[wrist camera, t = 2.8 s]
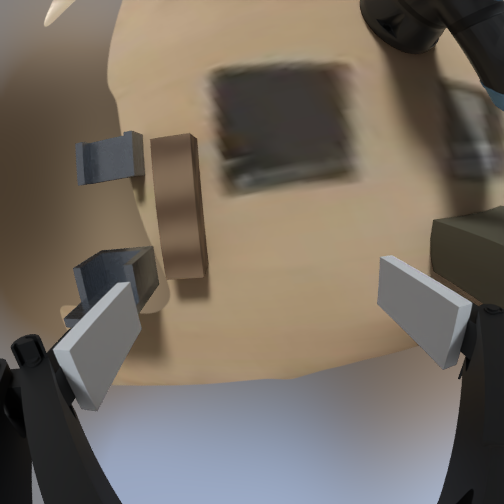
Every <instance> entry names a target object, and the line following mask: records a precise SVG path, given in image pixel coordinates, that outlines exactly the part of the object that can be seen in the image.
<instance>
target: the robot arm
mask: <svg viewBox="0 0 504 504" xmlns="http://www.w3.org/2000/svg"><path fill="white" fill-rule="evenodd" d="M360 8H361V12H362V14H363V17H364V18H365V20H366V22H367V23H368V25H369V26H370V27H371V29H372V30H373V31H374V32H375V33H376V34H377V35H378V36H379V37H380V38H381V39H383V40H384V41H385V42H387V43H388V44H390V45H391V46H393V47H395V48H396V49H399V50H401V51H403V52H407V53H411V54H420V53H424V52H426V51H428V50H430V49H431V48H433V47H434V46H435V45H436V44H437V42H438V40H439V37H440V36H441V35H442V33H443V32H444V30H445V28H448V30H449V31H450V32H451V34H452V35H453V37H454V38H455V40H456V41H457V43H458V44H459V46H460V47H461V49H462V50H463V52H464V53H465V55H466V56H467V58H468V60H469V61H470V63H471V65H472V66H473V68H474V70H475V71H476V73H477V75H478V77H479V79H480V82H481V84H482V86H483V87H484V88H485V89H486V91H487V93H488V94H489V96H490V98H491V100H492V102H493V103H494V104H495V105H496V106H497V107H498V108H500V109H501V110H502V111H504V1H503V0H360ZM377 304H378V305H379V306H380V307H381V308H382V309H383V310H384V311H385V312H386V313H387V314H388V315H389V316H390V317H391V318H392V319H393V320H394V321H395V322H396V323H397V324H398V325H399V326H400V327H401V328H402V329H403V330H404V331H405V332H406V333H407V334H408V335H409V336H410V337H411V338H412V339H413V340H414V341H415V342H416V343H417V344H418V345H419V346H420V347H422V349H423V350H424V351H425V352H426V353H427V354H428V355H429V356H430V357H431V358H432V359H433V360H434V361H435V362H436V363H437V364H438V365H439V366H440V367H441V368H442V369H443V370H444V369H447V368H449V367H451V366H454V365H456V364H457V361H458V358H459V354H460V352H462V353H463V354H464V355H465V356H466V357H465V360H464V363H463V366H462V369H461V371H460V374H459V377H458V379H460V378H461V376H462V387H461V399H460V407H459V415H458V422H457V428H456V434H455V439H454V444H453V449H452V454H451V458H450V463H449V467H448V471H447V475H446V478H445V482H444V485H443V489H442V492H441V495H440V498H439V501H438V503H437V504H504V309H503V308H501V307H499V306H497V305H494V304H483V305H480V306H477V305H476V304H474V303H472V302H471V301H469V300H468V299H466V298H464V297H463V296H461V295H460V294H457V293H456V292H455V291H453V290H451V289H449V288H447V287H446V286H444V285H442V284H441V283H439V282H437V281H436V280H434V279H432V278H431V277H429V276H427V275H426V274H424V273H422V272H420V271H419V270H417V269H415V268H414V267H412V266H410V265H408V264H406V263H405V262H403V261H401V260H399V259H398V258H396V257H394V256H392V255H391V256H383V257H380V271H379V288H378V301H377ZM141 329H142V328H141V324H140V320H139V317H138V313H137V309H136V305H135V300H134V296H133V292H132V287H131V283H130V282H122V283H117V284H116V285H115V286H114V287H113V288H112V289H111V290H110V291H109V292H108V293H107V294H106V295H105V296H104V297H103V298H102V299H100V300H99V301H98V302H97V303H96V305H95V306H94V307H93V308H92V309H91V310H90V311H89V312H88V313H87V314H86V315H85V316H84V317H83V318H82V319H81V320H80V321H79V322H78V323H77V324H76V325H75V326H74V327H72V328H71V329H69V330H68V331H67V332H66V333H65V334H64V335H63V336H62V337H61V338H60V339H59V340H58V342H56V343H55V345H54V346H53V347H52V348H51V349H50V350H49V351H48V352H47V353H46V351H45V348H44V346H43V343H42V341H41V338H40V337H39V335H36V334H30V335H26V336H23V337H21V338H19V339H17V340H16V341H15V342H14V343H13V344H12V345H11V350H12V352H13V354H14V356H15V358H16V361H17V363H18V365H19V367H20V369H10V368H9V366H8V364H7V362H6V360H5V359H0V504H32V462H33V466H34V470H35V474H36V478H37V481H38V485H39V488H40V491H41V495H42V498H43V501H44V504H122V503H121V501H120V500H119V498H118V496H117V495H116V493H115V491H114V490H113V488H112V487H111V485H110V483H109V481H108V479H107V478H106V476H105V474H104V472H103V470H102V468H101V467H100V465H99V463H98V461H97V459H96V457H95V455H94V453H93V451H92V449H91V446H90V444H89V442H88V440H87V438H86V436H85V433H84V431H83V429H82V426H81V424H80V422H79V419H78V417H77V414H76V412H75V410H74V408H73V406H72V402H73V401H74V399H75V398H76V400H77V402H78V404H79V405H80V407H81V409H85V410H91V411H98V409H99V407H100V405H101V403H102V402H103V400H104V398H105V395H106V394H107V392H108V390H109V388H110V386H111V384H112V382H113V380H114V378H115V376H116V375H117V373H118V371H119V369H120V367H121V365H122V363H123V362H124V360H125V358H126V356H127V354H128V352H129V351H130V349H131V347H132V345H133V343H134V342H135V340H136V338H137V336H138V335H139V333H140V331H141ZM5 413H6V414H5Z"/></svg>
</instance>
